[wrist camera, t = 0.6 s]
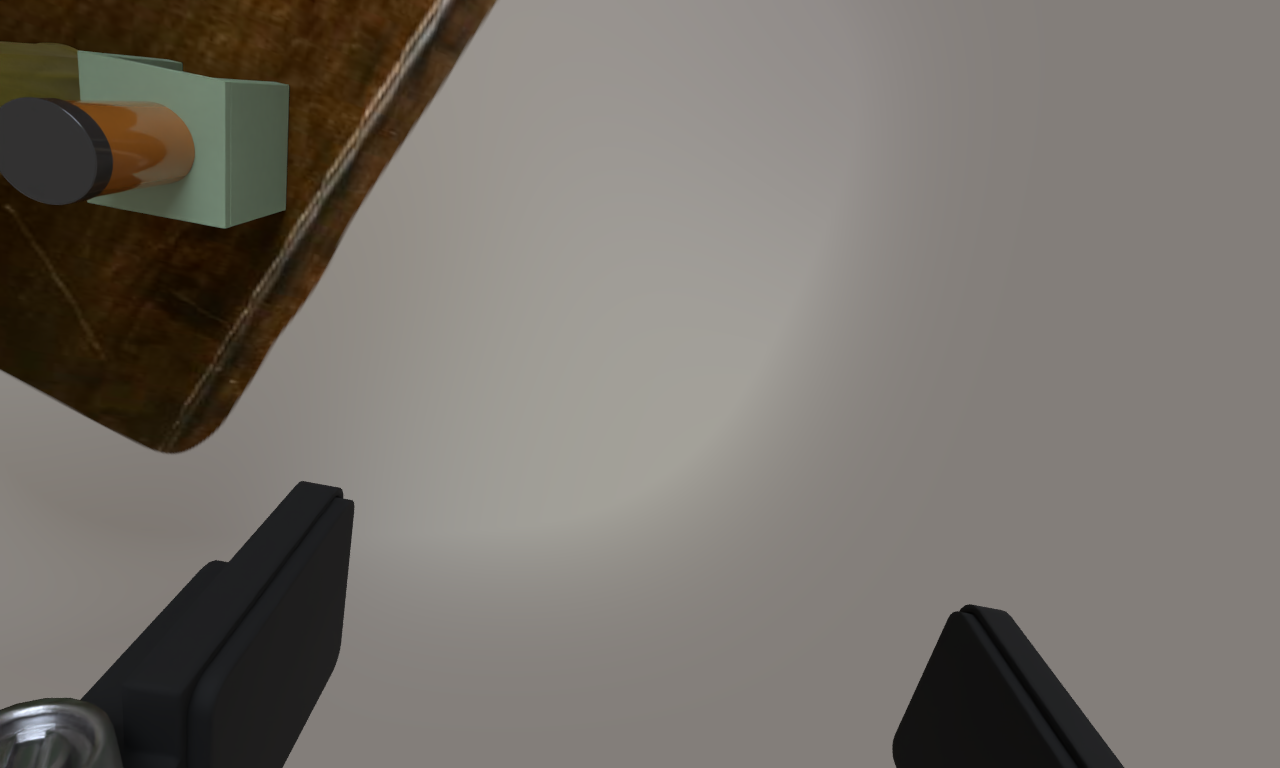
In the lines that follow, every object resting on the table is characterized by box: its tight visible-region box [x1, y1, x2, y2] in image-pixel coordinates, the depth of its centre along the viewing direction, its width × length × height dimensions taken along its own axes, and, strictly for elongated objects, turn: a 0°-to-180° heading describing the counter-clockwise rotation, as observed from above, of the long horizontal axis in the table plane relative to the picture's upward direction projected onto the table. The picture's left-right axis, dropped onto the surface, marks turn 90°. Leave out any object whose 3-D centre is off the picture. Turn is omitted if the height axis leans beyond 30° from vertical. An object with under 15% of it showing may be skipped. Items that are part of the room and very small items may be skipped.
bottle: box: [0, 97, 195, 205], centre depth 36 cm, size 5×5×8 cm
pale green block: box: [77, 51, 289, 229], centre depth 44 cm, size 8×8×8 cm
